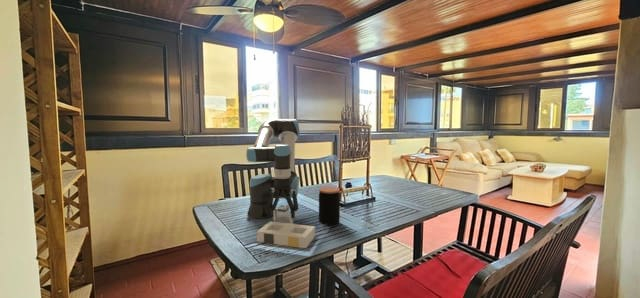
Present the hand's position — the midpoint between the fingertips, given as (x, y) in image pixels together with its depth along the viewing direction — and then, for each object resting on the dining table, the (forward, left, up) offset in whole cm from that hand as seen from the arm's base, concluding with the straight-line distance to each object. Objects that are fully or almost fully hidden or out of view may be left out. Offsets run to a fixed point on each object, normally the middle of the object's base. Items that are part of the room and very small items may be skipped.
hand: (283, 223), depth 133 cm
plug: (0, 0, -2) cm, 2 cm away
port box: (+7, -12, -3) cm, 14 cm away
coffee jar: (+19, +15, -3) cm, 24 cm away
